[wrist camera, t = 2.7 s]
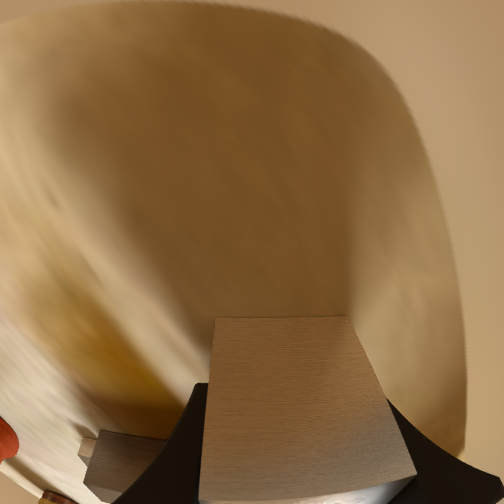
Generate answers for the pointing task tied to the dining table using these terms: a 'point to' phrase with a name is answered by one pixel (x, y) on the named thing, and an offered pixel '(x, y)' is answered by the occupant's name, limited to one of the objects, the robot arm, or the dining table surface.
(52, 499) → the sauce bottle
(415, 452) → the robot arm
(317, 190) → the dining table surface
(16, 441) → the toy drill
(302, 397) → the steel block
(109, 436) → the vise base
